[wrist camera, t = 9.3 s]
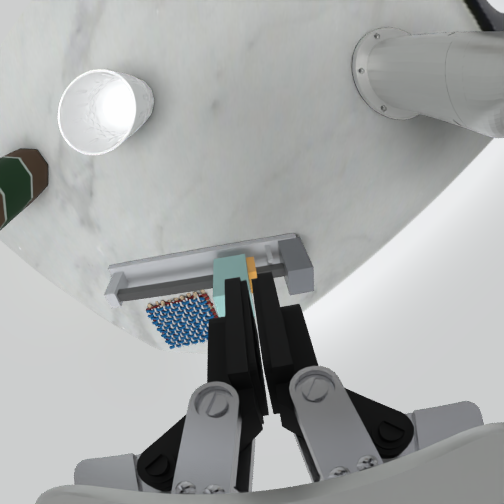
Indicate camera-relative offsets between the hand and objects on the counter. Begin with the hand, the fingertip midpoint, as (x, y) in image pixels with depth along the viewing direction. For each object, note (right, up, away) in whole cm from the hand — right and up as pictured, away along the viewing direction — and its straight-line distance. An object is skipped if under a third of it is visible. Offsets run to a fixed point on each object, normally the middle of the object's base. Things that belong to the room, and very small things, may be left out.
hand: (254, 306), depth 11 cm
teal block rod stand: (-7, +1, +31) cm, 32 cm away
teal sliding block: (-3, 0, +28) cm, 28 cm away
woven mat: (-11, -9, +37) cm, 39 cm away
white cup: (-15, +19, +19) cm, 30 cm away
